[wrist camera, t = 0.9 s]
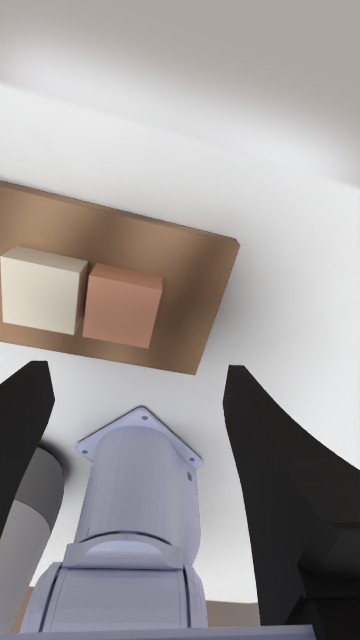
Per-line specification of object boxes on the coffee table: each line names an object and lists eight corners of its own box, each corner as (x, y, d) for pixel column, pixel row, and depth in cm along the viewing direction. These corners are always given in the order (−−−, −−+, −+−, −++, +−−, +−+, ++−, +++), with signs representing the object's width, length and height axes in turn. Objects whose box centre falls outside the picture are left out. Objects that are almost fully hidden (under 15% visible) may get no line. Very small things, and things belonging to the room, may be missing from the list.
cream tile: (88, 261, 18) (79, 273, 16) (82, 318, 20) (73, 335, 18) (17, 245, 17) (0, 256, 16) (17, 306, 19) (2, 322, 17)
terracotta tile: (162, 277, 19) (162, 290, 17) (149, 331, 20) (148, 348, 19) (96, 262, 18) (89, 275, 16) (89, 320, 20) (82, 336, 18)
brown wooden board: (235, 238, 19) (240, 245, 18) (193, 363, 24) (195, 375, 22) (-39, 171, 17) (-56, 172, 15) (-25, 323, 21) (-37, 335, 20)
